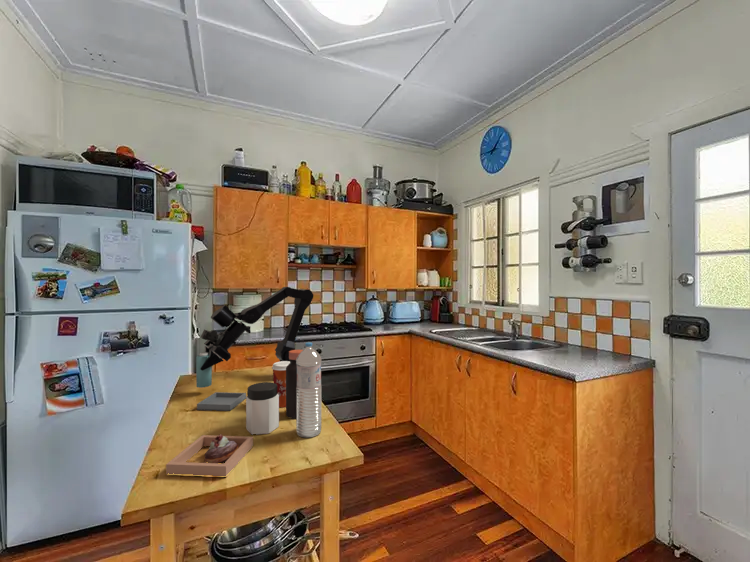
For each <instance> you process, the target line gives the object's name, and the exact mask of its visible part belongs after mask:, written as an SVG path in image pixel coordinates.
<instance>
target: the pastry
mask: <svg viewBox="0 0 750 562" xmlns="http://www.w3.org/2000/svg"><path fill="white" fill-rule="evenodd" d="M216 436H217V437H216V438H214V439H212V442H211V443H210V445H209V446H210V447H208V449H207V450H206V452H205V453H204V462H205V461H206V462H208V463H222V464H224V463H223V462H226V461H227V460H228V459H229V458H230V457H231V456H232V455H233V453H234V452H235V451H236V450H237V449H238V448H239V447H238V444H237V443H236V442H234V441H228V439H227V438H226V437H224V436H225V435H223V434H222V433H220V434H218V435H216ZM206 462H205V463H206Z"/></svg>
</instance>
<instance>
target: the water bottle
mask: <svg viewBox="0 0 750 562" xmlns="http://www.w3.org/2000/svg"><path fill="white" fill-rule="evenodd" d="M302 350H303V351H302V352H301V353H300V354H299V355H298V357H297V359H296V364H297V387H296V393H297V394H296V403H297V404H296V406H297V407H296V416H297V417H296V427H295V428H296V429H295V430H296V434H297V436H299V437H301V438H305V439H309V438H314V437H317V436H318V435H320V434H321V432H322V357H321V354H320V353H319V352H318V351H317V350H316V349H314V348H313V342H310V341H307V342H305V348H304V349H302Z"/></svg>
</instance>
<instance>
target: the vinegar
mask: <svg viewBox="0 0 750 562" xmlns="http://www.w3.org/2000/svg"><path fill="white" fill-rule="evenodd" d="M303 350H304V349H295V350H291V351H289V360H290V364H289V365H288V366H287V367H286V407H285V415H286V417H287V418H289V419H293V420H294V419H296V417H297V416H296V407H297V406H296V404H297V403H296V394H297V393H296V387H297V364H296V359H297V357H298V355H299V354H300V353H301V352H302V351H303ZM296 420H297V419H296Z"/></svg>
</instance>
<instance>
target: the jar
mask: <svg viewBox="0 0 750 562" xmlns="http://www.w3.org/2000/svg"><path fill="white" fill-rule="evenodd" d="M245 400H246V401H245V418H246V419H245V428H246V430H247V432H249V434H250V435H252V436H253V434H256V435H268V434H271V433H272V432H273V431H274V430H276V429H277V428H279V427H280V407H279V395H278V394H277V384H275V383H274V382H271V381H270V382H269V381H267V382H266V381H265V382H264V381H263V382H262V381H261V382H258V383H257V382H256V383H254V384H250V385H249V386H248V387H247V391H246V399H245Z"/></svg>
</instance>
